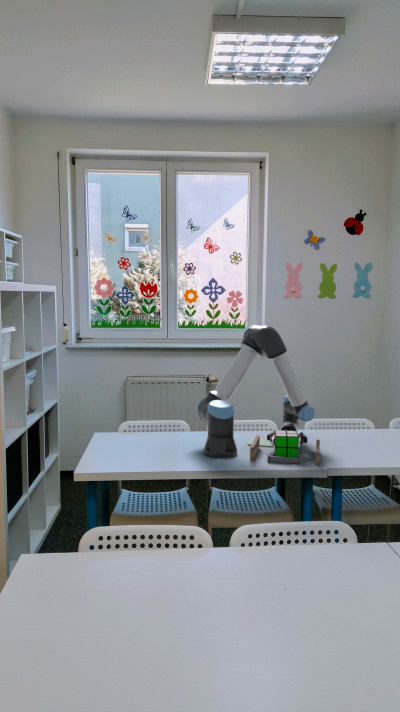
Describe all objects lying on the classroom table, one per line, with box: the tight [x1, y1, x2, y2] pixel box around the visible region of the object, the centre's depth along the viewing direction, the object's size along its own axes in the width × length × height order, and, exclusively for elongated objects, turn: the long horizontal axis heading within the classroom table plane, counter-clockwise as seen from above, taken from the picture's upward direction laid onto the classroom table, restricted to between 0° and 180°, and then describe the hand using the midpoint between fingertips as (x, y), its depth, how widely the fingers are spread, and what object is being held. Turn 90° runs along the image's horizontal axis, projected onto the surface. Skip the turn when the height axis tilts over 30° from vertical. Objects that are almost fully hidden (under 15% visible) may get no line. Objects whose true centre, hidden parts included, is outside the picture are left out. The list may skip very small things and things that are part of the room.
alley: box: [249, 435, 321, 467], centre depth 222 cm, size 29×20×6 cm
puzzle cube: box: [273, 430, 299, 458], centre depth 223 cm, size 10×10×10 cm
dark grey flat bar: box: [266, 452, 302, 466], centre depth 215 cm, size 14×6×2 cm, turn 76°
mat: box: [247, 437, 275, 448], centre depth 244 cm, size 12×12×1 cm
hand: (285, 443), depth 219 cm, fingers closed on puzzle cube, 11 cm apart
